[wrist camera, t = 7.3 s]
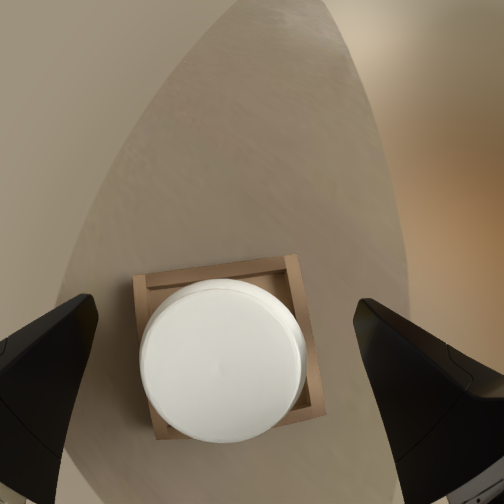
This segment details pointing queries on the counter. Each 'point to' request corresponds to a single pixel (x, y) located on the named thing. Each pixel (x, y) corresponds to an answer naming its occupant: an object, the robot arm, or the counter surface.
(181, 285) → the walnut tray
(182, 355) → the supplement bottle
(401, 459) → the robot arm
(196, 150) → the counter surface
